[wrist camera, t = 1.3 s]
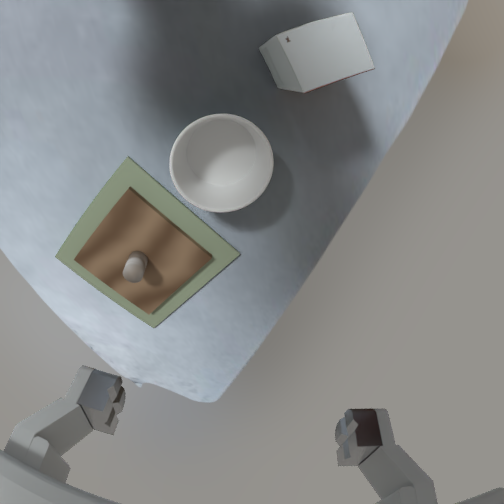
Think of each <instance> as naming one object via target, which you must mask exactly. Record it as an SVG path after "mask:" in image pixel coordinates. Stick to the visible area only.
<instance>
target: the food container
mask: <svg viewBox="0 0 504 504" xmlns="http://www.w3.org/2000/svg"><path fill="white" fill-rule="evenodd" d="M169 166H170V174H171V178H172V181H173V183H174V185H175V187H176V189H177V190H178V192H179V193H180V194H181V195H182V196H183V198H184V199H186V200H187V201H188V202H189V203H191V204H192V205H194V206H196V207H198V208H200V209H203V210H206V211H210V212H217V213H225V212H232V211H236V210H239V209H242V208H244V207H246V206H248V205H250V204H251V203H253V202H254V201H255V200H256V199H257V198H259V197H260V195H261V194H262V193H263V192H264V191H265V189H266V188H267V186H268V184H269V182H270V180H271V177H272V173H273V167H274V158H273V152H272V148H271V145H270V143H269V141H268V139H267V137H266V136H265V134H264V133H263V132H262V131H261V130H260V129H259V128H258V127H257V126H256V125H255V124H253V123H252V122H250V121H249V120H247V119H245V118H242V117H240V116H236V115H232V114H212V115H208V116H205V117H202V118H200V119H198V120H196V121H194V122H192V123H191V124H189V125H188V126H187V127H186V128H185V129H184V130H183V131H182V132H181V133H180V134H179V136H178V137H177V139H176V141H175V143H174V145H173V147H172V150H171V154H170V161H169Z"/></svg>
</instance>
